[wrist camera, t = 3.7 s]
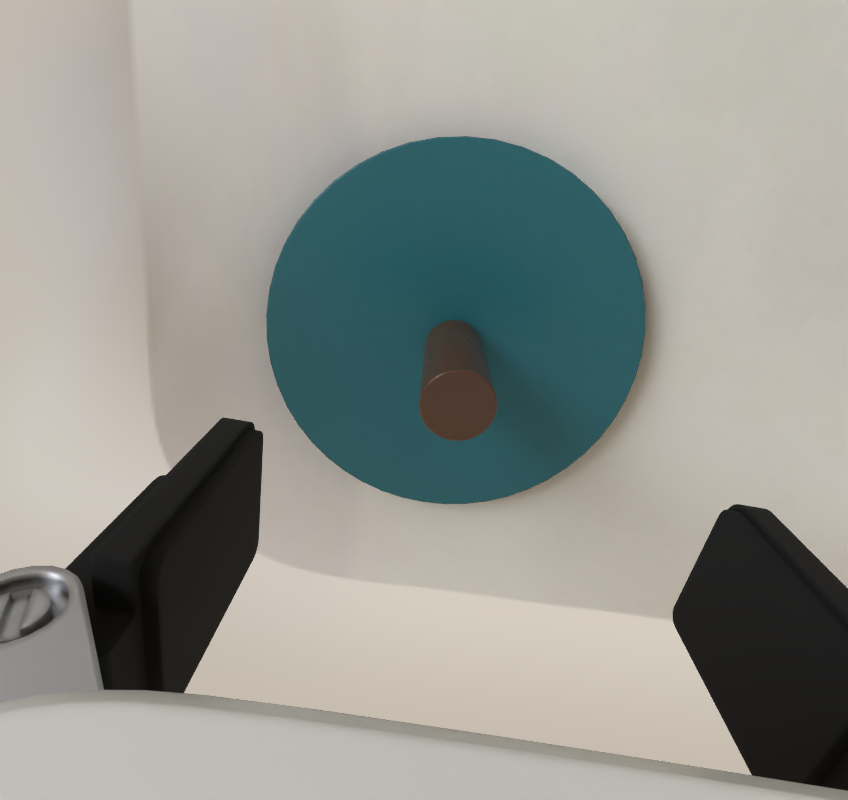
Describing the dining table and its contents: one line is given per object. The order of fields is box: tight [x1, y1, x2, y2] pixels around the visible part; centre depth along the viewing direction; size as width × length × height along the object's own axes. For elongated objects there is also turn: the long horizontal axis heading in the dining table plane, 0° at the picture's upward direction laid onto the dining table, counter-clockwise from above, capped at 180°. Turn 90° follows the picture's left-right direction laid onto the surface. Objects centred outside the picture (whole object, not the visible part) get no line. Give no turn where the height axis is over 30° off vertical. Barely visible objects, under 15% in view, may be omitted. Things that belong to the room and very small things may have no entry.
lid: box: [266, 136, 645, 504], centre depth 18 cm, size 16×16×7 cm
